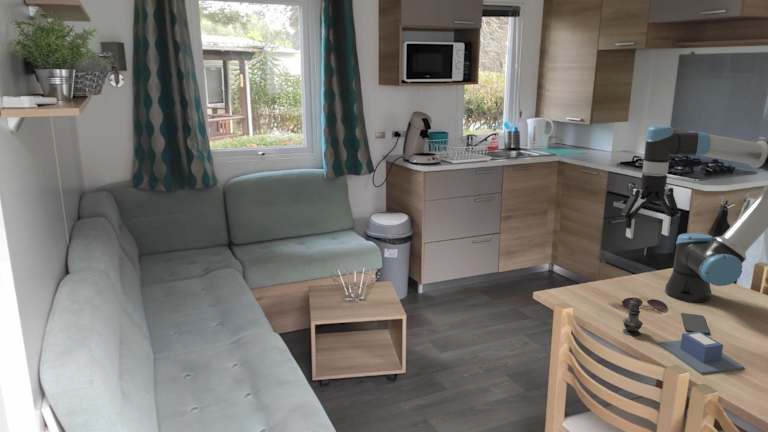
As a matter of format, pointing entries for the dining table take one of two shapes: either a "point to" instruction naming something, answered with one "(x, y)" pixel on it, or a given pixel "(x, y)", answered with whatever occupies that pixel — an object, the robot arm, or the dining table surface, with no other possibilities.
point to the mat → (700, 367)
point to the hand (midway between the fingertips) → (647, 236)
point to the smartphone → (694, 323)
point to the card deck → (701, 347)
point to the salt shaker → (633, 319)
